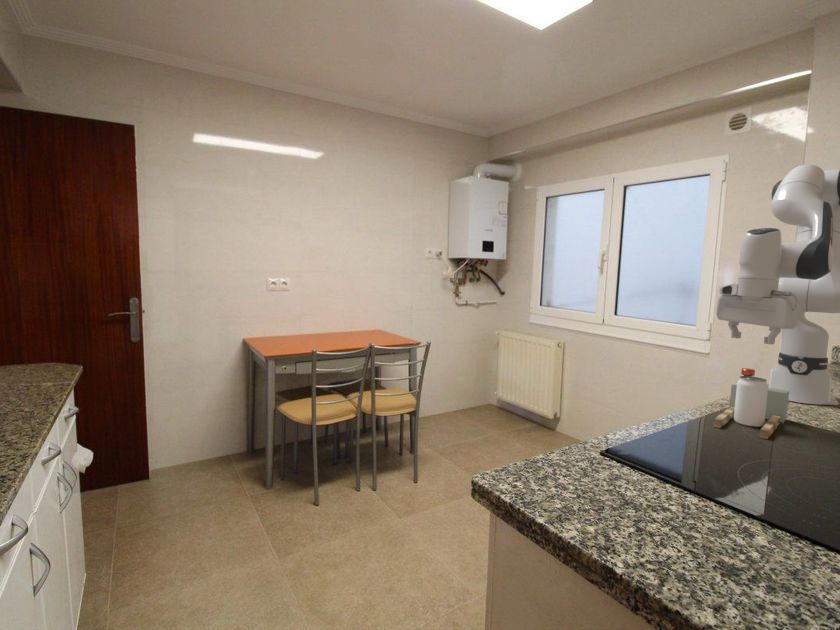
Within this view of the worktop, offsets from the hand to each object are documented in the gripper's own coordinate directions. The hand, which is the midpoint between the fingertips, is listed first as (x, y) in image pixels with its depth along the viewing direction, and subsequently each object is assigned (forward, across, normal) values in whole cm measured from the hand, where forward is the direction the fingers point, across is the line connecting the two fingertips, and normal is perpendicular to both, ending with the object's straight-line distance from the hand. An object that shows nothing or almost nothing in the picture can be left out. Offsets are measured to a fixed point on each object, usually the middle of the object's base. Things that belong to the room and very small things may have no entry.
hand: (751, 340), depth 120 cm
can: (+21, -5, +5) cm, 22 cm away
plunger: (+16, +2, -2) cm, 16 cm away
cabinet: (+21, 0, -4) cm, 21 cm away
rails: (+21, -7, +7) cm, 23 cm away
